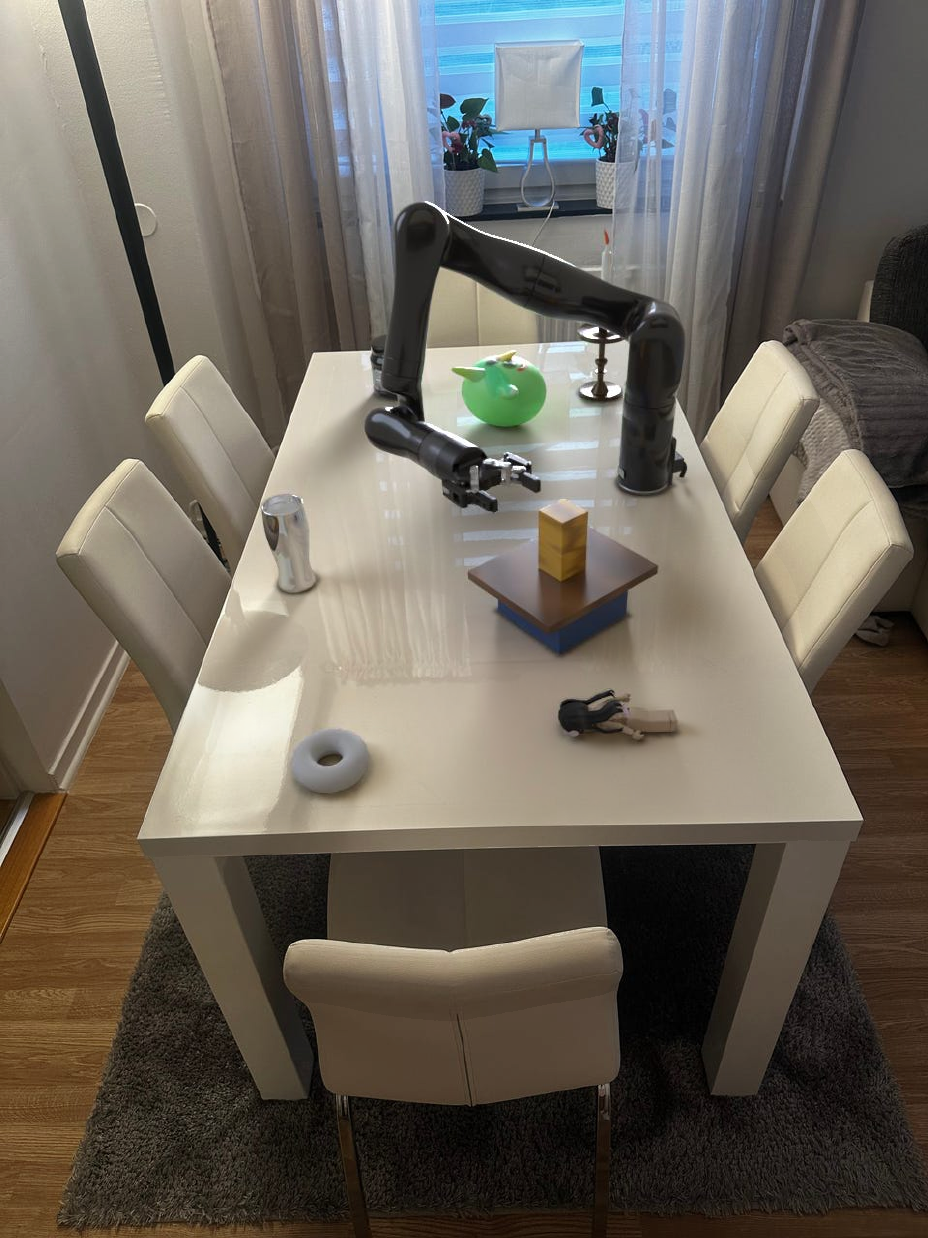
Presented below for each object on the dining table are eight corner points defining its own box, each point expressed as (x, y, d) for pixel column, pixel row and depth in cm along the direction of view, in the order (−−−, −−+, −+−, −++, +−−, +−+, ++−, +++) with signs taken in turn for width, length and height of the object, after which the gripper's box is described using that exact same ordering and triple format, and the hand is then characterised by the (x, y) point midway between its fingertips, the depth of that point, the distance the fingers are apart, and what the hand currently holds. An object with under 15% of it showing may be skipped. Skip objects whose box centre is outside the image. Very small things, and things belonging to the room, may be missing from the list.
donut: (282, 794, 112) (358, 803, 110) (276, 776, 110) (354, 784, 108) (308, 737, 119) (380, 745, 118) (304, 719, 117) (376, 726, 115)
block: (562, 554, 135) (564, 497, 129) (585, 568, 132) (588, 510, 126) (538, 567, 133) (538, 509, 127) (561, 582, 130) (562, 523, 124)
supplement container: (419, 380, 210) (415, 330, 203) (419, 399, 202) (415, 348, 195) (375, 383, 210) (369, 333, 203) (372, 402, 202) (366, 351, 195)
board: (573, 525, 144) (574, 517, 144) (657, 573, 133) (658, 565, 132) (467, 579, 134) (467, 570, 133) (549, 635, 123) (549, 627, 122)
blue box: (563, 576, 146) (564, 540, 141) (626, 615, 137) (629, 578, 132) (497, 610, 139) (496, 574, 135) (559, 654, 130) (560, 616, 126)
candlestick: (565, 394, 200) (569, 230, 179) (594, 379, 206) (602, 218, 185) (605, 407, 194) (614, 239, 173) (633, 390, 200) (646, 226, 179)
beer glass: (325, 573, 149) (311, 495, 140) (306, 597, 144) (291, 518, 135) (288, 567, 151) (272, 490, 142) (268, 590, 146) (250, 512, 137)
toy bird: (558, 415, 192) (560, 348, 183) (520, 447, 181) (519, 378, 172) (487, 399, 200) (485, 335, 191) (446, 429, 189) (442, 362, 180)
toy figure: (659, 701, 122) (552, 710, 120) (667, 671, 117) (556, 680, 116) (674, 743, 117) (562, 753, 115) (683, 713, 112) (567, 723, 111)
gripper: (415, 453, 139) (480, 491, 129) (485, 424, 146) (553, 458, 135) (418, 495, 144) (482, 535, 133) (486, 465, 150) (552, 501, 140)
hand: (518, 496), depth 134 cm, fingers open, 8 cm apart
